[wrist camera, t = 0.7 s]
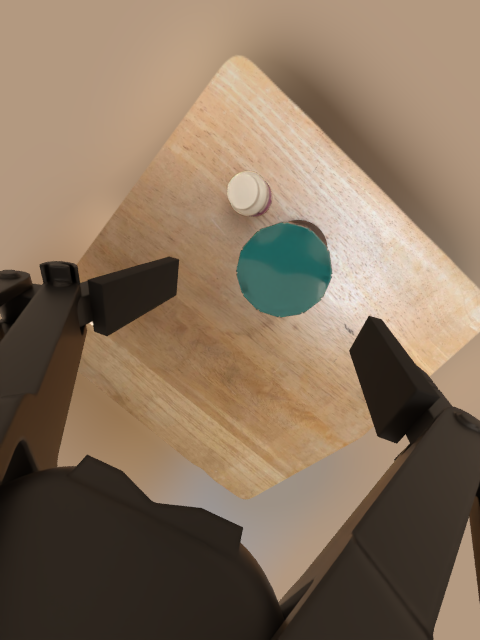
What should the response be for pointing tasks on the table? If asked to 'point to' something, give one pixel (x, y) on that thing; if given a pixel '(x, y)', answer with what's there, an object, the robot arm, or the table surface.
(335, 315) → the table surface
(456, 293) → the table surface
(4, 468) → the robot arm
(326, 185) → the table surface
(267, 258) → the teal fluted cylinder
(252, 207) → the pill bottle
